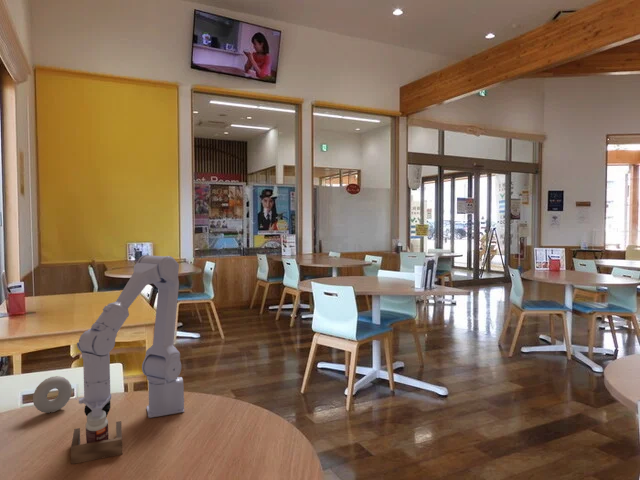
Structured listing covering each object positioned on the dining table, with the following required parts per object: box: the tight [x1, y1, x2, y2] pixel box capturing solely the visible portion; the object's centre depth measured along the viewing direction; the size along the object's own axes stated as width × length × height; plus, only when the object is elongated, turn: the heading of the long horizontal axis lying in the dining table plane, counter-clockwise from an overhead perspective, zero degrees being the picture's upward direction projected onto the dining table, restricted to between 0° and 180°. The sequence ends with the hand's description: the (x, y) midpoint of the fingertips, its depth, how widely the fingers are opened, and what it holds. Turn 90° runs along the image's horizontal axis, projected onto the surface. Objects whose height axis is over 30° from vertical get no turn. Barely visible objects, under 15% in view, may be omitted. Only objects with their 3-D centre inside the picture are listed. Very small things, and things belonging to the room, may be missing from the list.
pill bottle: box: [85, 410, 109, 444], centre depth 107 cm, size 5×5×8 cm
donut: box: [32, 375, 73, 414], centre depth 128 cm, size 10×3×10 cm, turn 143°
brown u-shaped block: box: [70, 420, 123, 465], centre depth 107 cm, size 10×10×4 cm
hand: (98, 434), depth 110 cm, fingers closed
